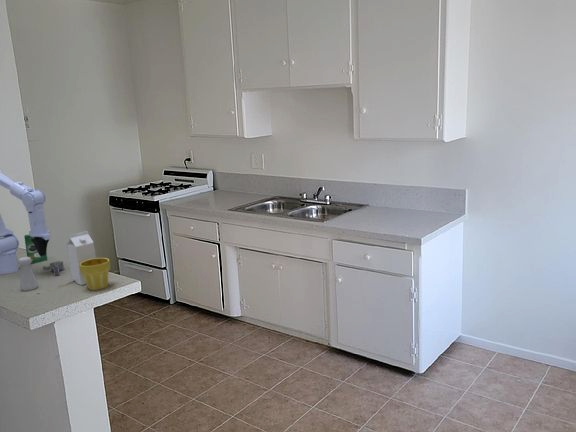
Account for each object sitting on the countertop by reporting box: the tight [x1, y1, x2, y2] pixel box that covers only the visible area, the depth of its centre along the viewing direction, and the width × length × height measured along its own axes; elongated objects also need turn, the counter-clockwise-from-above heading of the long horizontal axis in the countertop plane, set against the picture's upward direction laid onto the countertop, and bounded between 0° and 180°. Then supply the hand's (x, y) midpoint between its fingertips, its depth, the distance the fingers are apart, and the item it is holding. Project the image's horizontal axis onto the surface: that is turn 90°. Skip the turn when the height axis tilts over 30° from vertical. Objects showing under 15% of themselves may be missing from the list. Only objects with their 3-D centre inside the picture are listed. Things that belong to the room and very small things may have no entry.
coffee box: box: [23, 234, 49, 265], centre depth 234 cm, size 8×3×13 cm, turn 110°
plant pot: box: [79, 257, 111, 291], centre depth 196 cm, size 10×10×10 cm
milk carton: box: [66, 230, 97, 286], centre depth 203 cm, size 7×7×19 cm
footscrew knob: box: [49, 260, 65, 277], centre depth 214 cm, size 11×5×4 cm, turn 22°
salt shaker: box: [17, 256, 39, 292], centre depth 195 cm, size 6×6×13 cm
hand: (42, 255), depth 212 cm, fingers closed
